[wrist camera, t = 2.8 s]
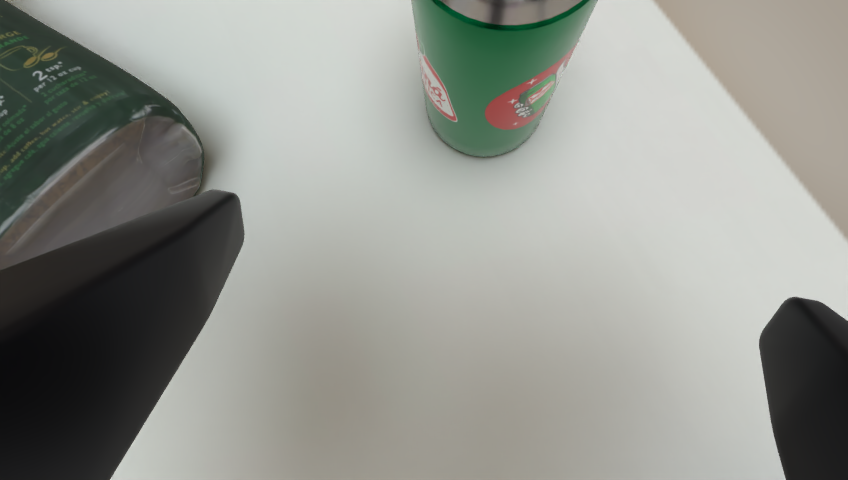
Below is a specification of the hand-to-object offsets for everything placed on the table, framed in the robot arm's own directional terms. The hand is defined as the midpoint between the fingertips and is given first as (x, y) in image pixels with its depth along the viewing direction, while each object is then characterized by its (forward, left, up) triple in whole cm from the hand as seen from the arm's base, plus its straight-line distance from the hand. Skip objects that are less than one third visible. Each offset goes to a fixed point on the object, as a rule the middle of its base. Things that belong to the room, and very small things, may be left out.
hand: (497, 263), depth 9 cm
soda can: (0, +8, -14) cm, 16 cm away
